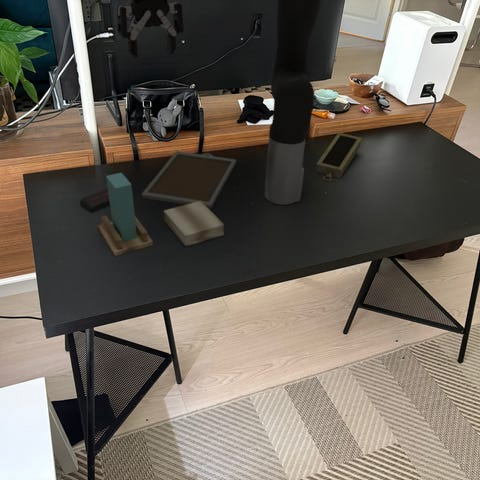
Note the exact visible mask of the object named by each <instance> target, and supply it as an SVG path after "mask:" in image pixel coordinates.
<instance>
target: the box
mask: <svg viewBox="0 0 480 480" xmlns="http://www.w3.org/2000/svg"><path fill="white" fill-rule="evenodd" d="M362 141H363V138H362V137H359V136H354V135H350V134H346V133H342V132H338V133H337V134H336V136H335V137H334V138H333V140H332V141H331V142H330V144H329V146H328V147H327V148H326V150H325V151H324V153H323V154H322V155H321V157H320V158H319V159H318V161H317V163H316V164H315V165H316V173H318V174H323V175H325V176H322V180H323V181H325V182H329V183H331V182H332V180H333V178H336V179H341V178H342V176H343V174H344V173H345V171H346V170H347V169H348V167H349V165H350V163H351V162H352V160H353V158H355V156H356V154H357V153H358V150H359V149H360V147H361V142H362Z"/></svg>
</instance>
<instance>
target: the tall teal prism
mask: <svg viewBox="0 0 480 480" xmlns="http://www.w3.org/2000/svg"><path fill="white" fill-rule="evenodd" d="M105 178H106V185H107V189H108V194H109V201H110V206H109V207H110V213H111V222H113V227H114V228H115V230H116V231H117V233H118V234H119V236H120V237H121V239H122V242H124V241H128V240H131V239H135V238H137V232H136V223H135V217H136V214H135V207H134V206H135V205H134V196H133V189H132V188H133V187H132V183H131V182H130V181H129V180H128V178H127V177H126V176H125V174H123V172H118V173H114V174H108V175H106V177H105Z"/></svg>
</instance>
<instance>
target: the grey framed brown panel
mask: <svg viewBox="0 0 480 480" xmlns="http://www.w3.org/2000/svg"><path fill="white" fill-rule="evenodd" d="M236 164H237V159H233V158H228V157H227V158H226V157H221V156H219V157H218V156H215V155H212V153H208V152H207V153H206V152H205V153H202V154H198V153H191V152H185V151H175V152H174V153H173V155H172V156H171V157H170V158H169V159H168V160H167V162H166V163H165V165H163V167H162V168H161V169H160V171H159V172H158V173H157V175H155V177H154V178H153V179H152V180H151V182H150V183H149V184H148V186H147V187H146V188H145V189H144V190H143V191H142V193H141V198H142V199H147V200H148V199H149V200H155V201H161V202H167V203H174V204H180V205H187V204H191V203H194V202H198V201H201V202H202V203H203V204H204V205H205V206H206V207H207V208H208V209H209V210H210V209H212V208H213V206H214V205H215V203H216V201H217V199H218V197H219V195H220V194H221V192H222V189H223V188H224V186H225V184H226V182H227V180H228V179H229V177H230V176H231V174H232V172H233V169H234V168H235V166H236Z"/></svg>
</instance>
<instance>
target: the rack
mask: <svg viewBox="0 0 480 480" xmlns="http://www.w3.org/2000/svg"><path fill="white" fill-rule="evenodd" d="M100 219H101V224H98V225H97V230H98V231H99V232H100V234H101V236H102V237H103V239H104V240H105V242H106V244H107V245H108V247H109V249H110V250H111V252H112V253H113V254H112V255H114V257H117V256H120V255H123V254H127V253H130V252H134V251H137V250H140V249H145V248H147V247H151V246H153V245H154V242H153V239H152V238H151V237H150V235H149V234H148V232H147V230H146V228H145V227H144V226H143V224H141V221H140V220H139V219H138V218H137V217H136V216H135V223H136V232H137V238H135V239H131V240H128V241H124V242H122V239H121V237H120V236H119V234H118V233H117V231H116V230H115V228H114V227H113V222H112V221H110V219H109V217H108V216H107V215H102V216H100Z"/></svg>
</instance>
